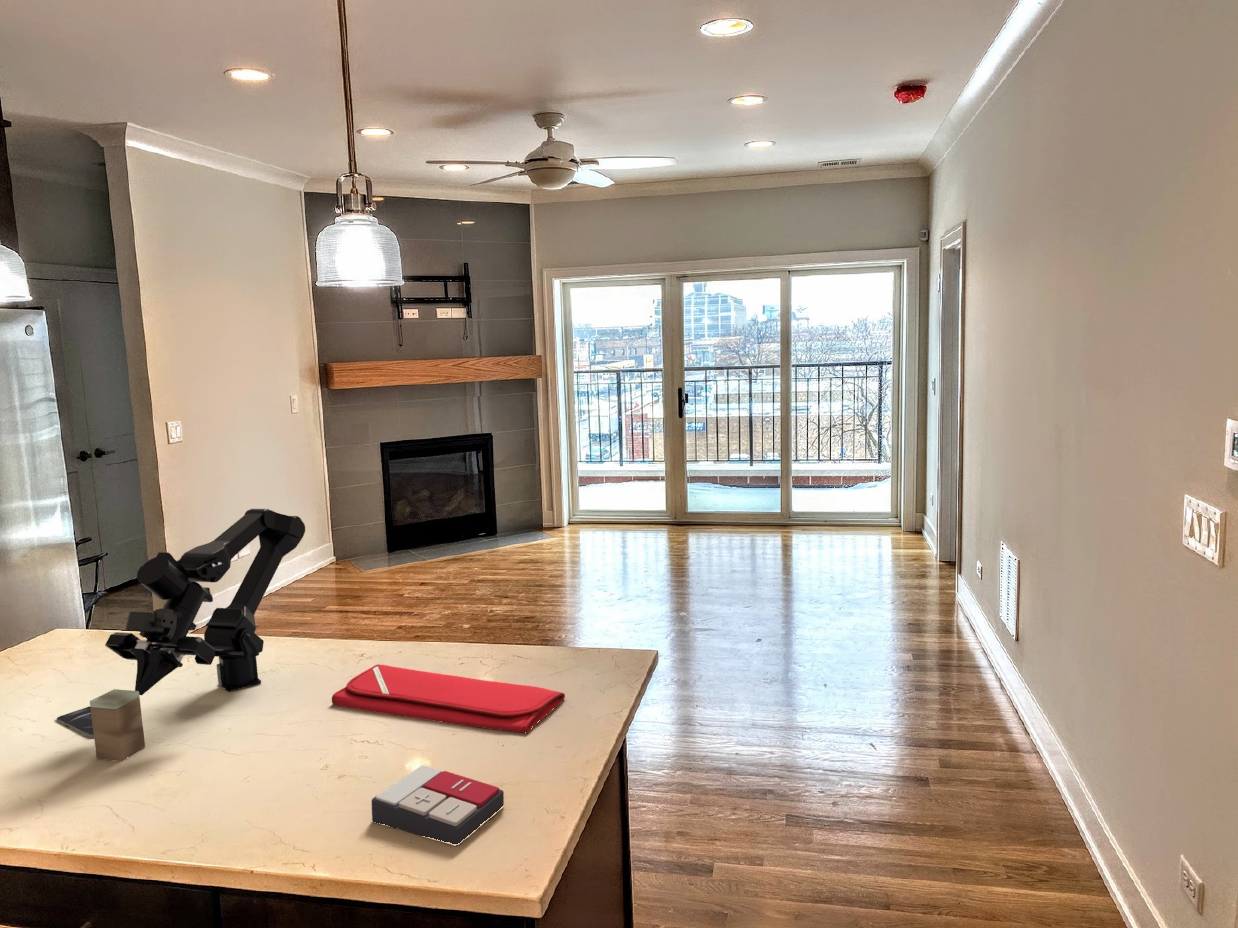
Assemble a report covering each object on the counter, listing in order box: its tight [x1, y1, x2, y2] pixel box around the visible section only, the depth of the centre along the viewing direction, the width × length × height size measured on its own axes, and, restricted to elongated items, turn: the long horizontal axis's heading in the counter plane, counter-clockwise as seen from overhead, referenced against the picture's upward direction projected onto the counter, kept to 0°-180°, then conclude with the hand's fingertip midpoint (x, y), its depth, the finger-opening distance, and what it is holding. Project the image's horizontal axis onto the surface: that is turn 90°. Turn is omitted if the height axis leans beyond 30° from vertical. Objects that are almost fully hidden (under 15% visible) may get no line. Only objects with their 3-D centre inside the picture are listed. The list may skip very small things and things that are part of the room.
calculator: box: [371, 764, 505, 844], centre depth 122 cm, size 11×4×15 cm
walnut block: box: [89, 688, 146, 762], centre depth 144 cm, size 5×5×10 cm
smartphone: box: [56, 705, 94, 739], centre depth 158 cm, size 8×1×15 cm
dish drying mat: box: [331, 663, 566, 734], centre depth 161 cm, size 16×41×4 cm, turn 69°
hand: (138, 694), depth 148 cm, fingers closed
